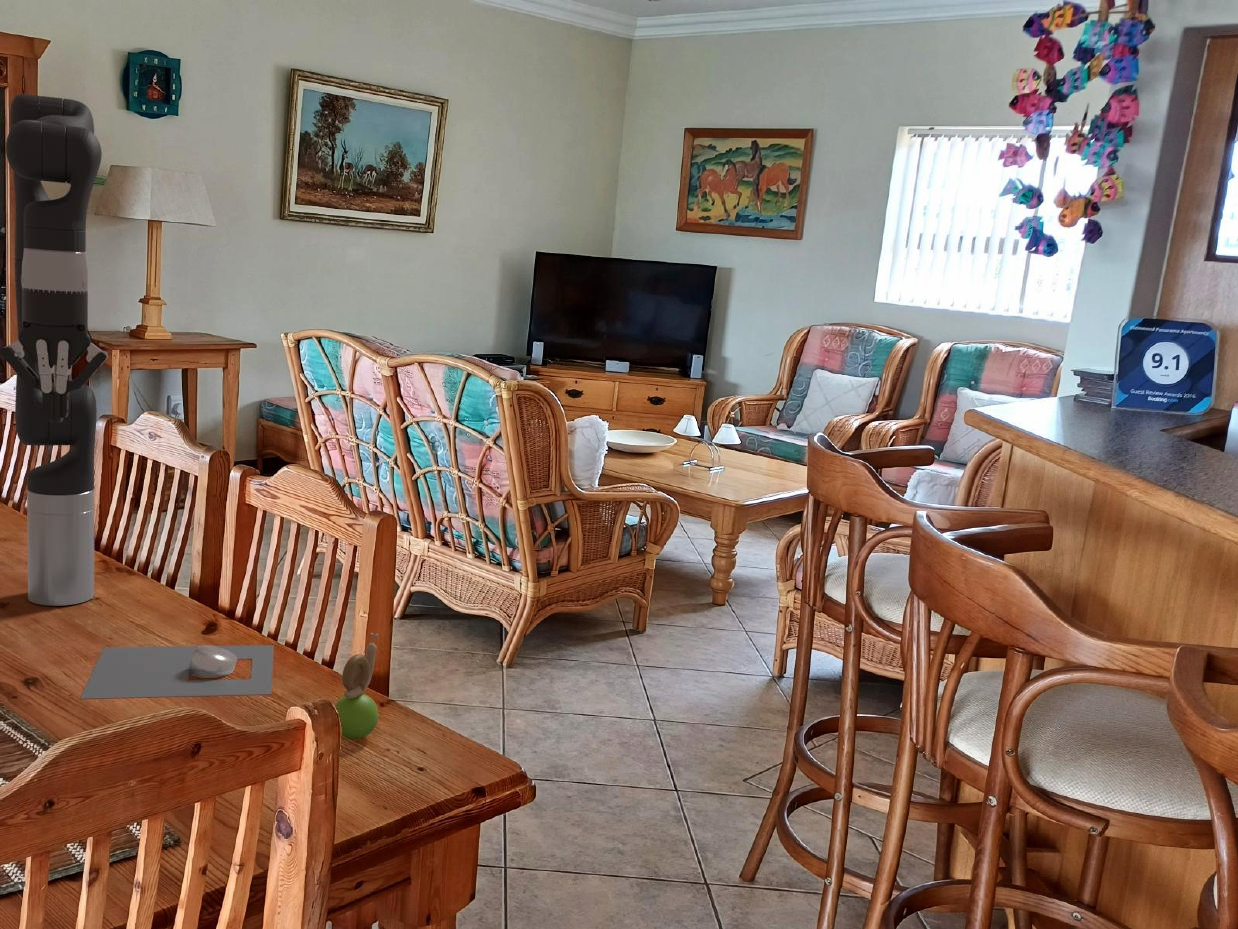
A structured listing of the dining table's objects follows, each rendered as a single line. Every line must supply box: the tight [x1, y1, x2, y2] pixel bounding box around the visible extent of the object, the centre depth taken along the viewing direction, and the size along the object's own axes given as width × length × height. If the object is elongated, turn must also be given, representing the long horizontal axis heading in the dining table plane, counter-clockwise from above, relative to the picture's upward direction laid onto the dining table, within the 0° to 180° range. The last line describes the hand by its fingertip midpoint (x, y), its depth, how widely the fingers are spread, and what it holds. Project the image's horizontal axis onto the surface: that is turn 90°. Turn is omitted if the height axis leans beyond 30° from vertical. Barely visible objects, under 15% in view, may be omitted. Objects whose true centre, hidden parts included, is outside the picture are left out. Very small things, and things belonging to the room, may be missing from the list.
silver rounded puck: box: [188, 644, 238, 679], centre depth 150 cm, size 6×6×3 cm
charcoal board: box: [79, 644, 275, 700], centre depth 149 cm, size 22×18×2 cm
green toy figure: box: [334, 632, 380, 740], centre depth 136 cm, size 5×6×12 cm
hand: (55, 421), depth 149 cm, fingers closed
